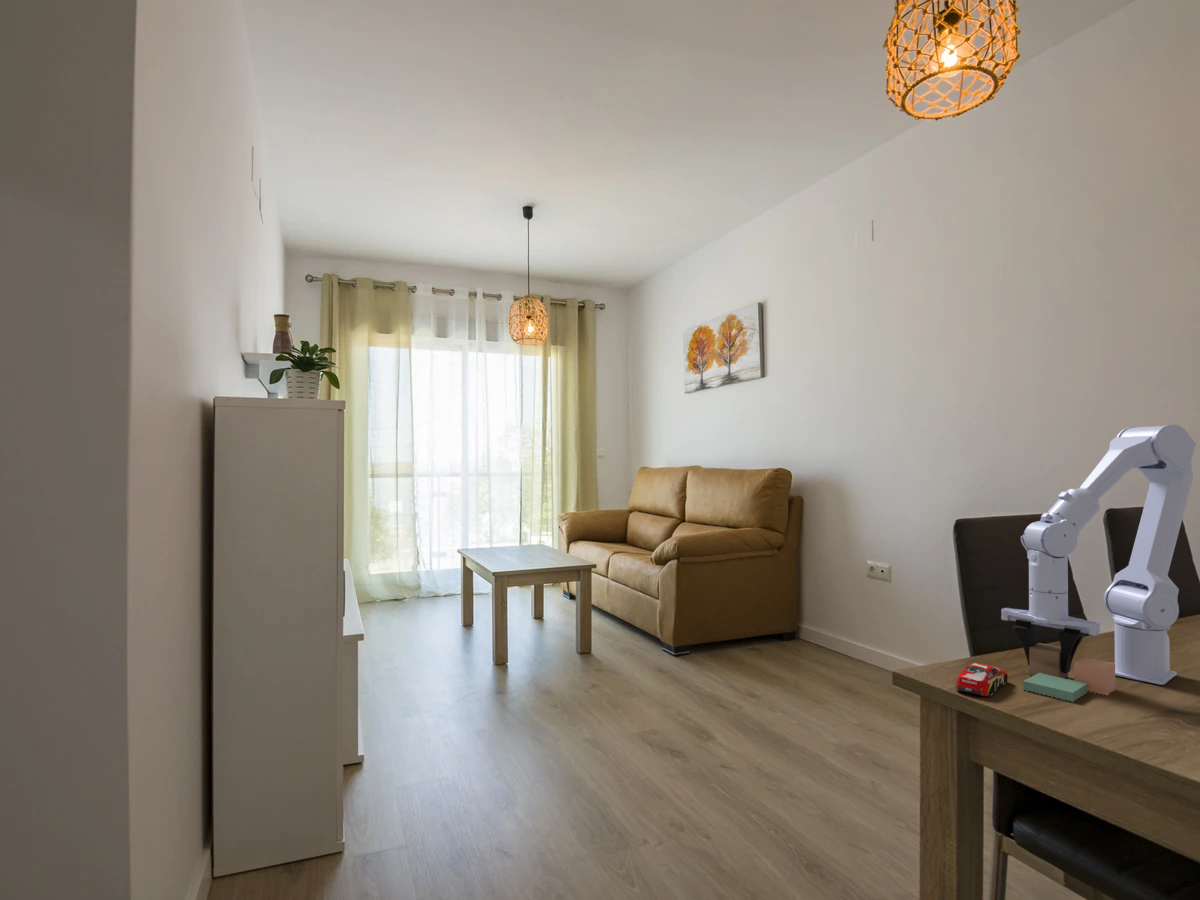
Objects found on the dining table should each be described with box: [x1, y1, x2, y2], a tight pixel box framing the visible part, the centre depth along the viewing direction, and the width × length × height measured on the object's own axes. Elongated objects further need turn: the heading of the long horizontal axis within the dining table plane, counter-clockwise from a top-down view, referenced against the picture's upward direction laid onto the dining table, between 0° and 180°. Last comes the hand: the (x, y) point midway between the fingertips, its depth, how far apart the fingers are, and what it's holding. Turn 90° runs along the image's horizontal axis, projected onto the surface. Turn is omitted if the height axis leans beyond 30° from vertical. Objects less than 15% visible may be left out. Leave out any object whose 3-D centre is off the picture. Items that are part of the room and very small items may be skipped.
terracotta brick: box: [1073, 656, 1116, 696], centre depth 113 cm, size 4×4×4 cm
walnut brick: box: [1028, 642, 1069, 679], centre depth 119 cm, size 4×4×5 cm
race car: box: [955, 662, 1009, 697], centre depth 114 cm, size 13×5×4 cm, turn 133°
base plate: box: [1022, 673, 1089, 703], centre depth 111 cm, size 7×7×2 cm
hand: (1048, 668), depth 119 cm, fingers closed on walnut brick, 4 cm apart
